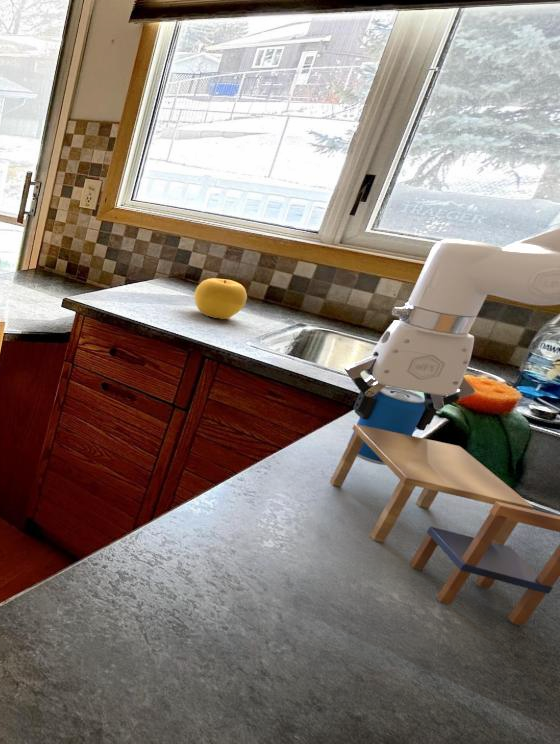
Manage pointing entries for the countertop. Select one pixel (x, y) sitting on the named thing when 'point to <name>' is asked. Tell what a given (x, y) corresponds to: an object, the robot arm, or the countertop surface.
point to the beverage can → (392, 416)
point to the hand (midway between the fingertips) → (388, 420)
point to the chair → (494, 558)
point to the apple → (220, 298)
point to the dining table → (427, 475)
